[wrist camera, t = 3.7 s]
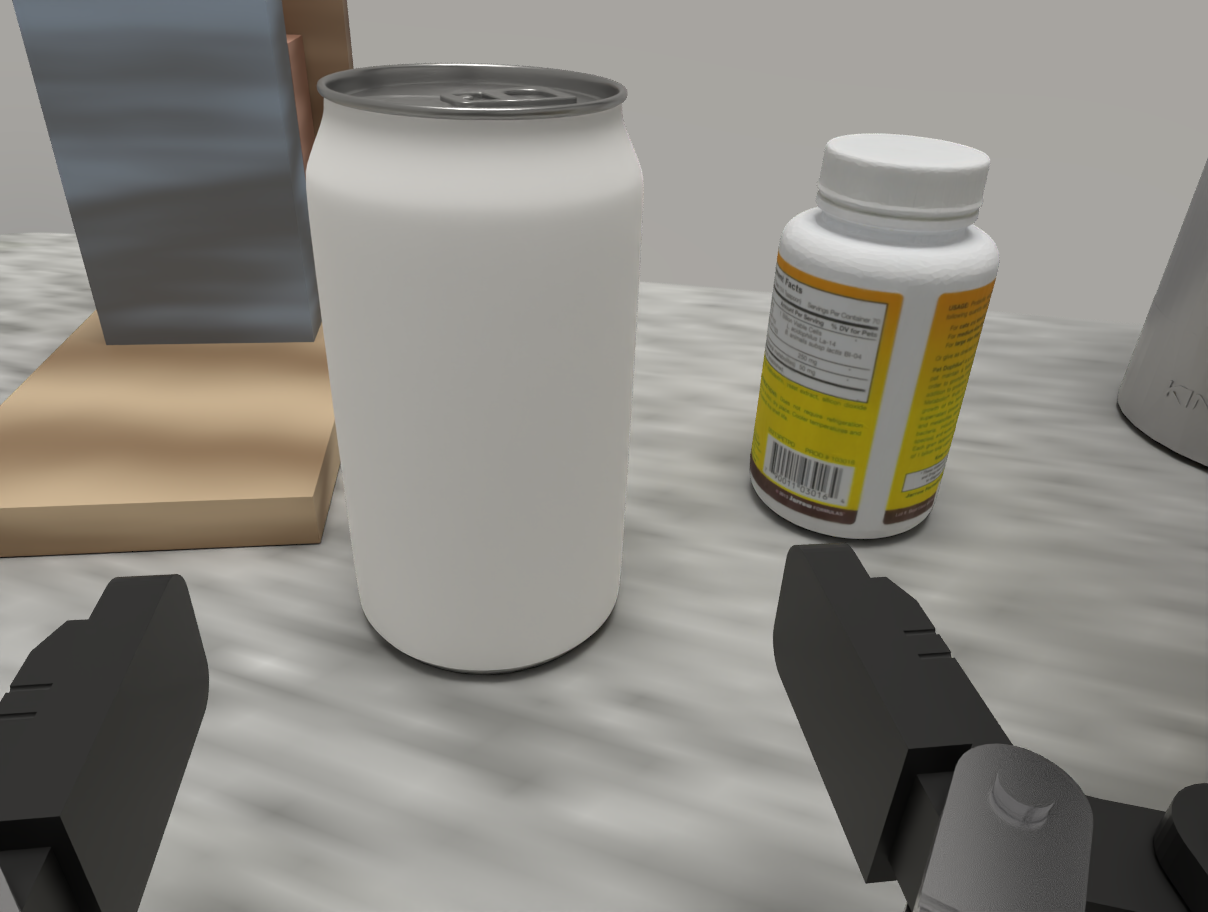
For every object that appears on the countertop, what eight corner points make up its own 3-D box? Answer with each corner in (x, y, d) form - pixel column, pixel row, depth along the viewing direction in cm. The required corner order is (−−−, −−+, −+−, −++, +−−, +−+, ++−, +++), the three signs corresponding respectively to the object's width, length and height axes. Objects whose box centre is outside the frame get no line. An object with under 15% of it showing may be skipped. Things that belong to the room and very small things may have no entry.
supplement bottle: (906, 455, 29) (988, 132, 24) (953, 556, 24) (1067, 180, 19) (738, 443, 29) (782, 122, 24) (751, 541, 24) (810, 166, 19)
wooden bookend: (320, 542, 24) (220, -90, 16) (-85, 560, 22) (-394, -119, 15) (378, 309, 38) (340, -78, 31) (136, 312, 37) (36, -93, 30)
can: (327, 561, 23) (250, 65, 17) (543, 496, 26) (544, 56, 20) (420, 727, 18) (362, 124, 12) (670, 624, 21) (724, 101, 15)
